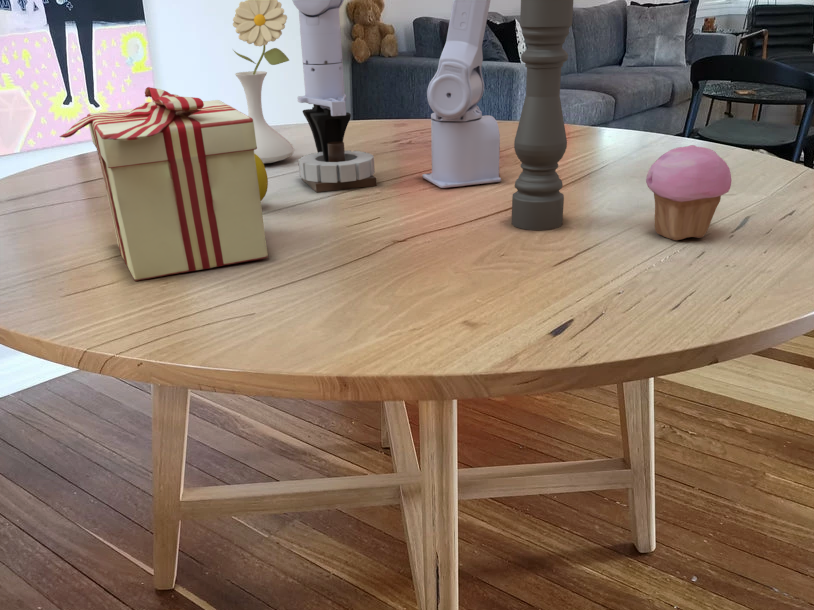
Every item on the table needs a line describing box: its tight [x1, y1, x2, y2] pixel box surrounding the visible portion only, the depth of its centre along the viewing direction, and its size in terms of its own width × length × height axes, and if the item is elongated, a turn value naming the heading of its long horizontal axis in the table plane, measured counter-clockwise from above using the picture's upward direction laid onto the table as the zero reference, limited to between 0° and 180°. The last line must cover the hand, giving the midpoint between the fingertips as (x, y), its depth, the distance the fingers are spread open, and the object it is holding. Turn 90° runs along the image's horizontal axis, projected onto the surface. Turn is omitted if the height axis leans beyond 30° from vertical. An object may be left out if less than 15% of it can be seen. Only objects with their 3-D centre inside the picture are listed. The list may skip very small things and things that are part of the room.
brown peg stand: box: [301, 141, 377, 193], centre depth 121 cm, size 9×9×6 cm
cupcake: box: [645, 144, 732, 241], centre depth 91 cm, size 9×9×10 cm
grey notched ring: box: [298, 149, 376, 183], centre depth 121 cm, size 11×11×2 cm
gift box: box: [59, 86, 269, 282], centre depth 88 cm, size 17×18×17 cm
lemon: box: [254, 154, 269, 202], centre depth 108 cm, size 6×6×8 cm
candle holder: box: [511, 0, 574, 231], centre depth 94 cm, size 6×6×25 cm
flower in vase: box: [232, 0, 295, 165], centre depth 131 cm, size 13×11×25 cm
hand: (329, 159), depth 125 cm, fingers open, 3 cm apart
